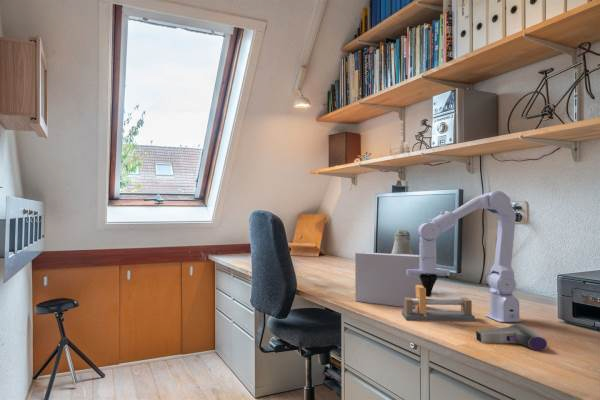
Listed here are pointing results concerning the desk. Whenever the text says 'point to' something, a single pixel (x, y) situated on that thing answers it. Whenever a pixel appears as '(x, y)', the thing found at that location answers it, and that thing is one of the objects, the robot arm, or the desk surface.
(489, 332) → the infrared thermometer
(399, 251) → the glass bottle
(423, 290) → the collar
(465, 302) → the pipe stand
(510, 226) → the robot arm
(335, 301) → the desk surface
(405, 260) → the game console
